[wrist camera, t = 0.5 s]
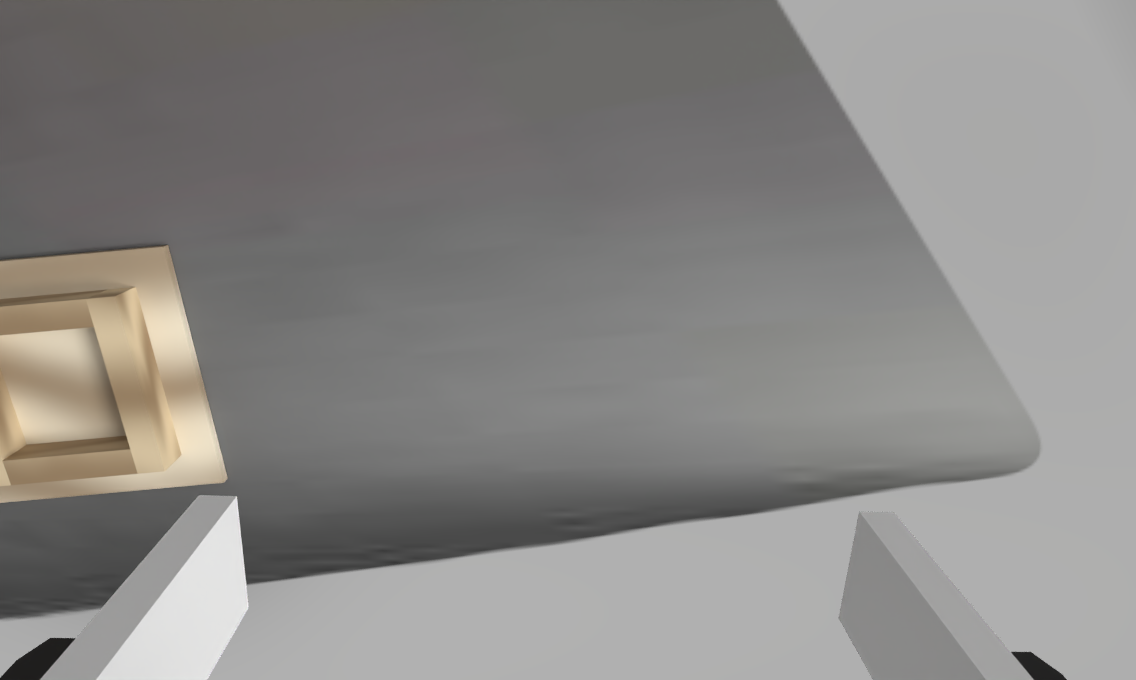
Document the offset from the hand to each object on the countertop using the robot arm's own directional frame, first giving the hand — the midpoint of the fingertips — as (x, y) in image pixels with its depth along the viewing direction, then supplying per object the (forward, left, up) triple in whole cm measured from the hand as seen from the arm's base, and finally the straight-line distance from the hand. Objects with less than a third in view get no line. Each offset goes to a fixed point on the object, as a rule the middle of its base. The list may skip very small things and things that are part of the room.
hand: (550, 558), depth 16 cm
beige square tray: (+3, -27, -26) cm, 38 cm away
